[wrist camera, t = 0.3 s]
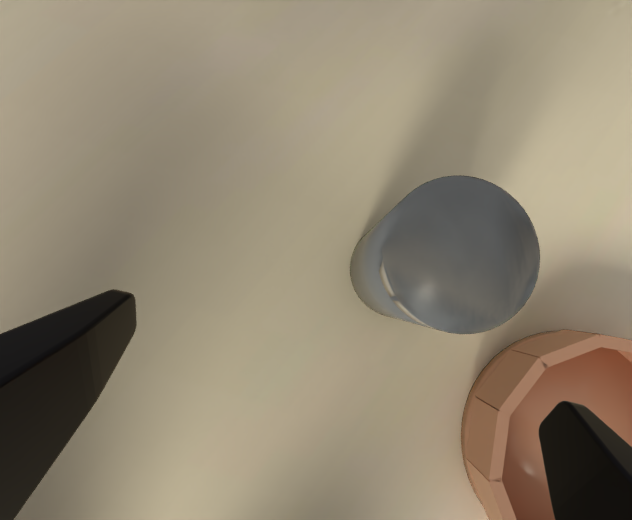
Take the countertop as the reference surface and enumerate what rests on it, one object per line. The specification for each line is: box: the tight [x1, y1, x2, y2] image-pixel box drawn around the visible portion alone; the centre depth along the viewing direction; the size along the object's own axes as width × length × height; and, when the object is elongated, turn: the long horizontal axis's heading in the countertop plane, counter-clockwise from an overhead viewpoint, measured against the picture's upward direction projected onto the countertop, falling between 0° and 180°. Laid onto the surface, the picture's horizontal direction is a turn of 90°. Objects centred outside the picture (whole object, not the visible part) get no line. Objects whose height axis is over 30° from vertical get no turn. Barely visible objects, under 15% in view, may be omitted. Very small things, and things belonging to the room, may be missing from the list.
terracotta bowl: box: [461, 329, 632, 520], centre depth 19 cm, size 12×12×4 cm
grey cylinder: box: [350, 176, 540, 334], centre depth 17 cm, size 6×6×9 cm
